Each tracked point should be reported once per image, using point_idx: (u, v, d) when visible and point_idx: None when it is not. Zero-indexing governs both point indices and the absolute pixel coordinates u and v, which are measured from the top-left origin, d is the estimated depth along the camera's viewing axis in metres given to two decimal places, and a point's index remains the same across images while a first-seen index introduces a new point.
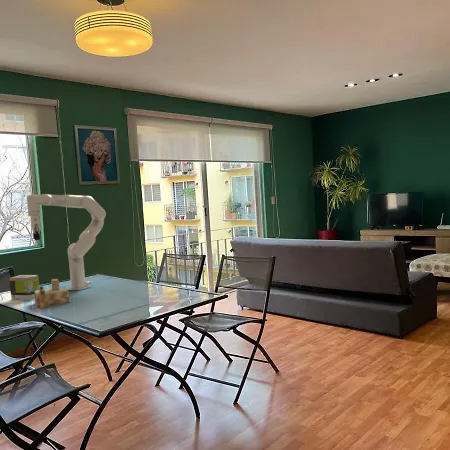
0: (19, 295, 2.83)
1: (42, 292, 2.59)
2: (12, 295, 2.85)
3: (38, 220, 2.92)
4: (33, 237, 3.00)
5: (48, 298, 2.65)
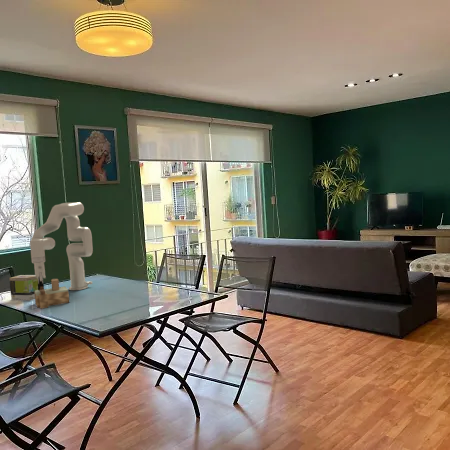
0: (19, 295, 2.83)
1: (42, 292, 2.59)
2: (12, 295, 2.85)
3: (43, 267, 2.64)
4: (38, 288, 2.69)
5: (48, 298, 2.65)
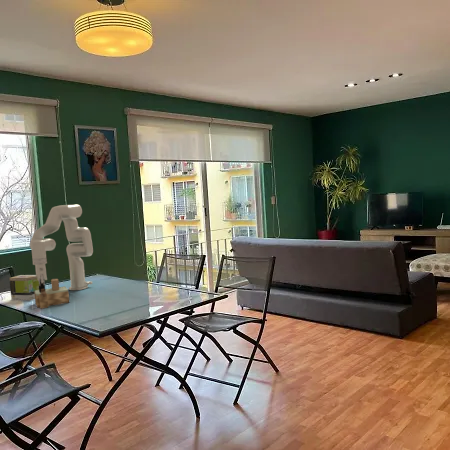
0: (19, 295, 2.83)
1: (44, 295, 2.52)
2: (12, 295, 2.85)
3: (44, 269, 2.58)
4: (39, 290, 2.62)
5: (48, 298, 2.65)
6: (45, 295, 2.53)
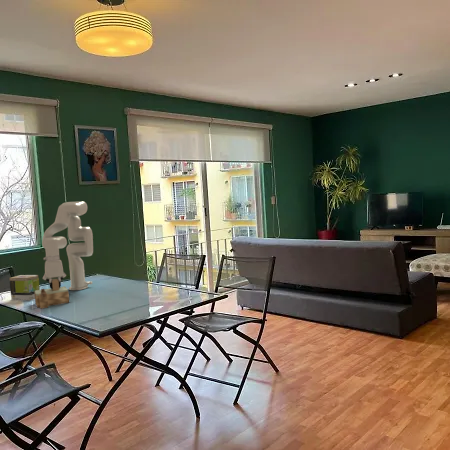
0: (19, 295, 2.83)
1: (44, 295, 2.52)
2: (12, 295, 2.85)
3: (45, 267, 2.67)
4: None
5: (48, 298, 2.65)
6: (45, 295, 2.53)
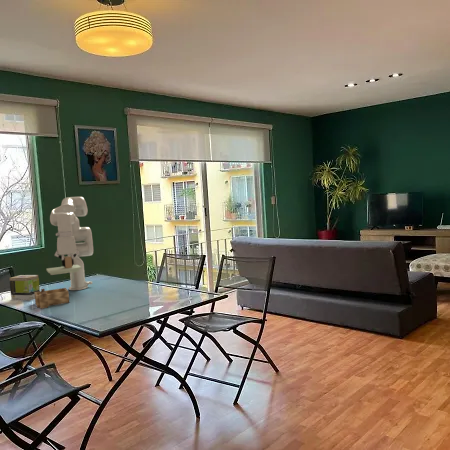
0: (19, 295, 2.83)
1: (44, 295, 2.52)
2: (12, 295, 2.85)
3: (57, 243, 2.54)
4: None
5: (48, 298, 2.65)
6: (45, 295, 2.53)
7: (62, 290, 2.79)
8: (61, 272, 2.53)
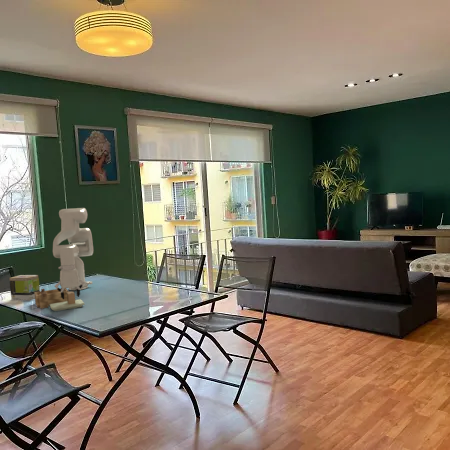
0: (19, 295, 2.83)
1: (44, 295, 2.52)
2: (12, 295, 2.85)
3: (60, 276, 2.55)
4: (77, 294, 2.63)
5: (48, 298, 2.65)
6: (45, 295, 2.53)
7: None
8: (64, 308, 2.55)
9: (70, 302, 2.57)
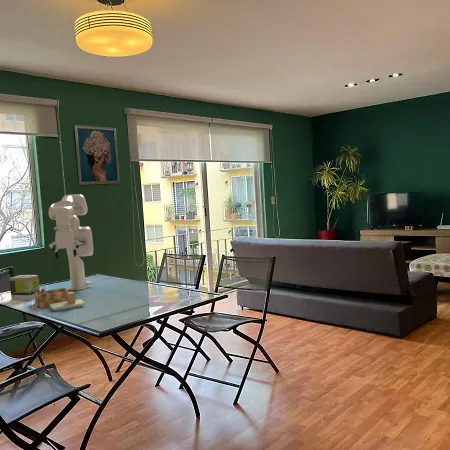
0: (19, 295, 2.83)
1: (44, 295, 2.52)
2: (12, 295, 2.85)
3: (56, 237, 2.56)
4: (74, 254, 2.64)
5: (48, 298, 2.65)
6: (45, 295, 2.53)
7: (62, 290, 2.79)
8: (64, 308, 2.55)
9: (70, 302, 2.57)
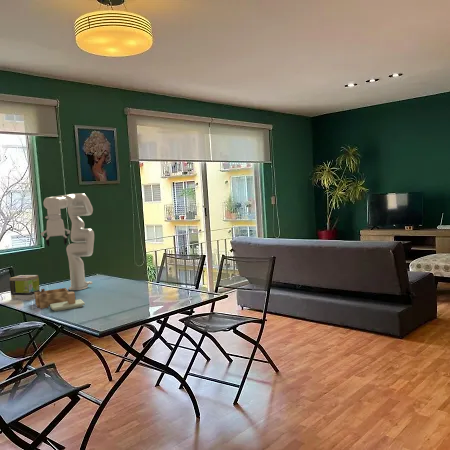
0: (19, 295, 2.83)
1: (44, 295, 2.52)
2: (12, 295, 2.85)
3: (47, 225, 2.71)
4: (64, 242, 2.79)
5: (48, 298, 2.65)
6: (45, 295, 2.53)
7: (62, 290, 2.79)
8: (65, 308, 2.55)
9: (70, 302, 2.58)
